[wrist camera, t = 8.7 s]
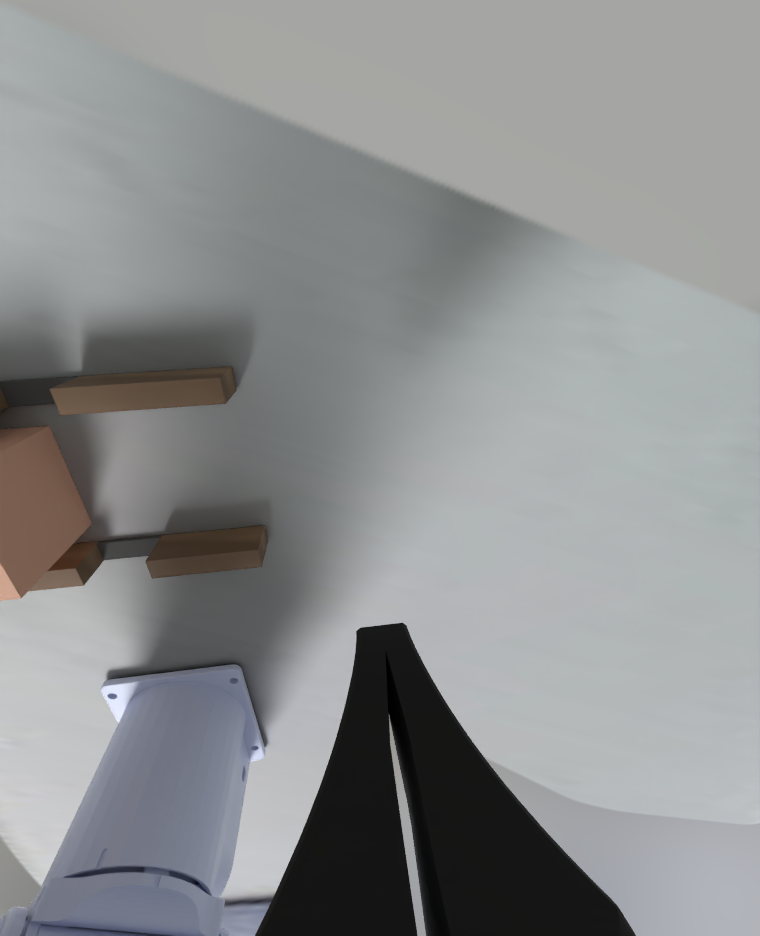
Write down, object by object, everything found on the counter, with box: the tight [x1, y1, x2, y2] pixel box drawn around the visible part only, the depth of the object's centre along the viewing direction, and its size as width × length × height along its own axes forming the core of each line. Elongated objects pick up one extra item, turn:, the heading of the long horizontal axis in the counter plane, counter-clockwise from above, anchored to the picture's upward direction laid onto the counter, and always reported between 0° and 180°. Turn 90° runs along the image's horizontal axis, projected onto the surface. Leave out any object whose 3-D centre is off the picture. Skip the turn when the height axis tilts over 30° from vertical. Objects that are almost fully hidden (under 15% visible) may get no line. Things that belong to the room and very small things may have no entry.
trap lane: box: [0, 367, 268, 591], centre depth 17 cm, size 9×14×3 cm, turn 92°
